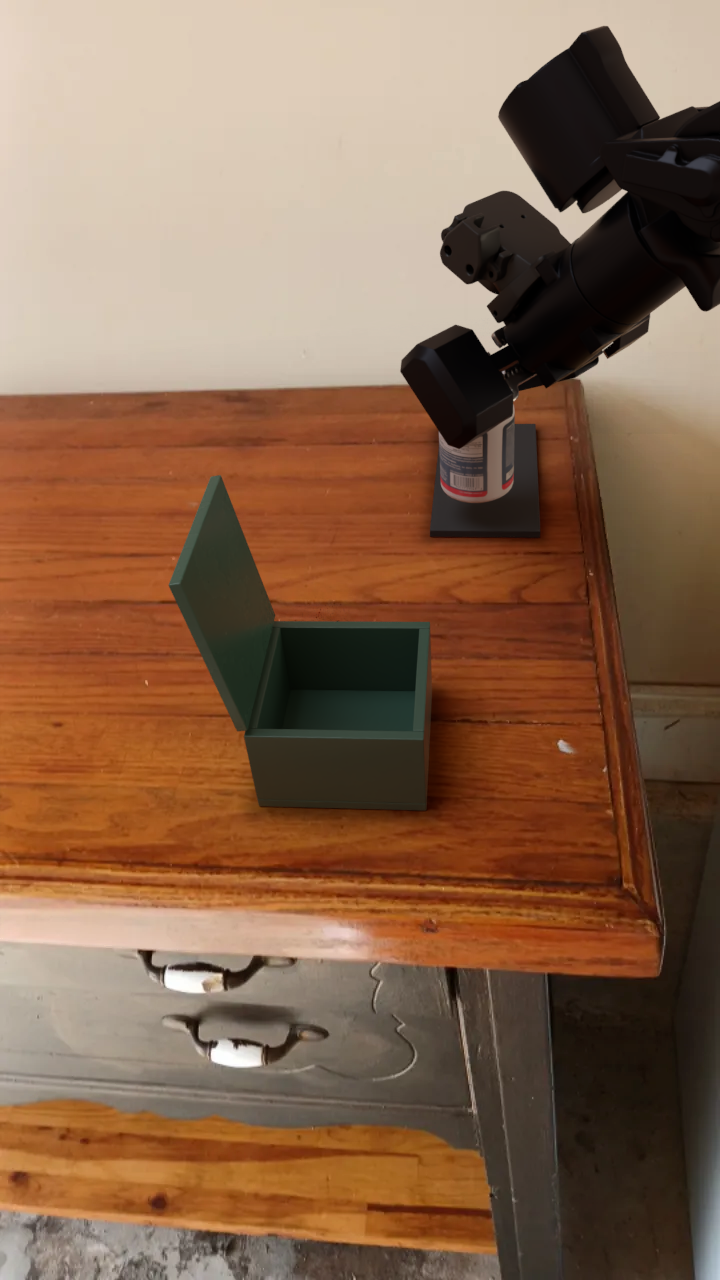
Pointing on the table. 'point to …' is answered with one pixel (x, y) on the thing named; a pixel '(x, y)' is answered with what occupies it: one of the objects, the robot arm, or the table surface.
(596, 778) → the table surface
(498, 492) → the pill bottle
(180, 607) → the lid
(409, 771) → the green square box
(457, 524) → the mat
